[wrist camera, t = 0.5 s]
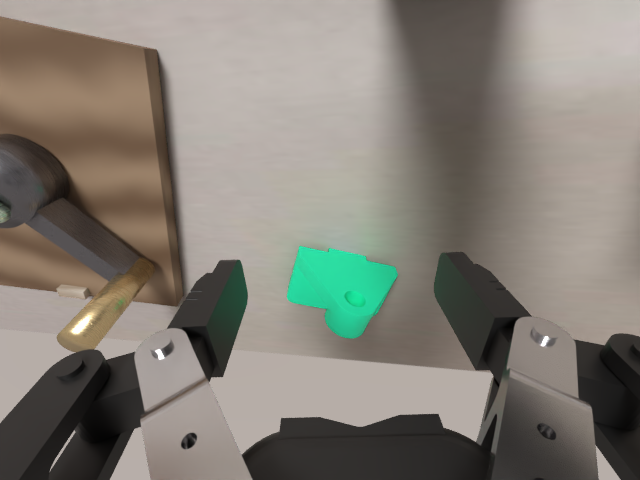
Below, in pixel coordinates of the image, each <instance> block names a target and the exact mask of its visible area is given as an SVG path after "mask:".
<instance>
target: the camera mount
mask: <svg viewBox="0 0 640 480" xmlns="http://www.w3.org/2000/svg"><path fill="white" fill-rule="evenodd" d="M397 276H398V273H397V271H396V268H395V267H394V266H389V265H384V264H380V263H375V262H371V261H367V260H366V256H362V255H358V254H353V253H349V252H344V251H340V250H335V249H331V248H329V250H328V252H325V251H320V250H316V249H311V248H307V247H302V246H299V250H298V254H297V257H296V261H295V264H294V268H293V272H292V275H291V279H290V283H289V286H288V293H287V299H288V300H289V301H290V302H292V303H297V304H302V305H307V306H313V307H318V308H323V309H327V310H326V313H325V321H326V324H327V325H328V327H329V328H330V329H331V330H332V331H333V332H334V333H335V334H337V335H339V336H341V337H344V338H357V337H359V336H361V335H362V334H363V332H364V330H365V328H366V327H367V325H368V323H369V321H370V319H371V318H372V316H374V315H376V314H377V313H378V311H379V309H380V307H381V305H382V304H383V302H384V300H385V298H386V296H387V294H388V292H389V291H390V289H391V287H392V285H393V283H394V281H395V279H396V278H397Z"/></svg>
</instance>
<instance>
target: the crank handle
mask: <svg viewBox="0 0 640 480" xmlns="http://www.w3.org/2000/svg"><path fill="white" fill-rule="evenodd" d="M68 194H69V181H68V178H67V175H66V173H65V171H64V169H63V168H62V166H61V165H60V164H59V162H58V161H57V160H56V159H55V158H54V157H53V156H52V155H51V154H50V153H49V152H48V151H47V150H45V149H44V148H43V147H41V146H40V145H38V144H37V143H35V142H33V141H31V140H29V139H27V138H24V137H22V136H18V135H14V134H0V228H14V227H17V226H20V225H22V224H23V223H25V224H27V225H28V226H30V227H31V228H33V229H34V230H35V231H37V232H38V233H40V234H41V235H43V236H44V237H46V238H47V239H48V240H50V241H51V242H53V243H54V244H56V245H57V246H59V247H60V248H61V249H63V250H64V251H66V252H67V253H69V254H70V255H71V256H73V257H74V258H76V259H77V260H79V261H80V262H82V263H83V264H84V265H86V266H87V267H89V268H90V269H92V270H93V271H95V272H96V273H97V274H99V275H100V276H102V277H103V278H105V279H106V280H107V281H109V282H108V283H107V284H106V285H105V286H104V287H103V288H102V289H101V291H100V292H99V293H98V294H97V295H96V296H95V297H94V298H93V299H92V300H91V301H90V302H89V303H88V304H87V305H86V306H85V307H84V308H83V309H82V310H81V311H80V312H79V313H78V314H77V315H76V316H75V317H74V318H73V319H72V320H71V322H70V323H69V324H68V325H67V326H66V327H65V328H64V329H63V330H62V331H61V332H60V333H59V334H58V335H57V340H58V342H59V343H60V344H61V345H62V346H63V347H64V348H66V349H68V350H70V351H73V352H79V351H83V350H89V349H95V348H96V346H97V345H98V343H99V342H100V341H101V340H102V339H103V337H104V336H105V335H106V334H107V332H108V331H109V330H110V329H111V327H112V326H113V325H114V323H115V322H116V321H117V320H118V318H119V317H120V316H121V315H122V313H123V312H124V311H125V310H126V308H127V307H128V306H129V304H130V303H131V302H132V301H133V299H134V298H135V297H136V296H137V294H138V293H139V292H140V291H141V289H142V288H143V287H144V286H145V284H146V283H147V282H148V280H149V279H150V278H151V277H152V275H153V274H154V272H155V268H154V266H153V264H152V263H151V262H150V261H148V260H146V259H144V258H140V257H139V256H137V255H136V254H135V253H134V252H132V251H131V250H130V249H128V248H127V247H126V246H125V245H123V244H122V243H121V242H120V241H118V240H117V239H116V238H114V237H113V236H112V235H111V234H109V233H108V232H107V231H105V230H104V229H103V228H102V227H100V226H99V225H98V224H96V223H95V222H94V221H93V220H91V219H90V218H89V217H87V216H86V215H85V214H84V213H82V212H81V211H80V210H78V209H77V208H76V207H75V206H73V205H72V204H71V203H69V202H68V201H67V200H66V198H67V196H68Z"/></svg>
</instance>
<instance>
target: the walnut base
mask: <svg viewBox="0 0 640 480" xmlns="http://www.w3.org/2000/svg"><path fill="white" fill-rule="evenodd" d="M0 134H14V135H18V136H22V137H24V138H27V139H29V140H31V141H33V142H35V143H37V144H38V145H40V146H41V147H43V148H44V149H45V150H47V151H48V152H49V153H50V154H51V155H52V156H53V157H54V158H55V159H56V160H57V161H58V162H59V164H60V165H61V166H62V168H63V169H64V171H65V173H66V175H67V178H68V181H69V194H68V196H67V198H66V200H67V201H68V202H69V203H71V204H72V205H73V206H75V207H76V208H77V209H78V210H80V211H81V212H82V213H84V214H85V215H86V216H87V217H89V218H90V219H91V220H93V221H94V222H95V223H96V224H98V225H99V226H100V227H102V228H103V229H104V230H105V231H107V232H108V233H109V234H111V235H112V236H113V237H114V238H116V239H117V240H118V241H120V242H121V243H122V244H123V245H125V246H126V247H127V248H128V249H130V250H131V251H132V252H134V253H135V254H136V255H137V256H139V257H140V258H144V259H146V260H148V261H150V262H151V263H152V264H153V266H154V268H155V272H154V274H153V275H152V277H151V278H150V279H149V280H148V282H147V283H146V284H145V286H144V287H143V288H142V289H141V291H140V292H139V293H138V294H137V296H136V297H135V298H134V299H133V301H136V302H144V303H152V304H160V305H169V306H178V304H179V302H180V300H181V299H182V297H183V288H182V279H181V269H180V260H179V251H178V242H177V232H176V223H175V214H174V205H173V195H172V186H171V177H170V168H169V158H168V149H167V140H166V131H165V121H164V112H163V103H162V94H161V84H160V75H159V66H158V57H157V50H156V49H151V48H147V47H142V46H137V45H132V44H128V43H123V42H118V41H113V40H109V39H104V38H99V37H95V36H90V35H85V34H80V33H76V32H71V31H66V30H61V29H57V28H52V27H47V26H43V25H38V24H33V23H28V22H24V21H19V20H14V19H9V18H5V17H0ZM108 282H109V281H107V280H106V279H105V278H103V277H102V276H100V275H99V274H97V273H96V272H95V271H93V270H92V269H90V268H89V267H87V266H86V265H84V264H83V263H82V262H80V261H79V260H77V259H76V258H74V257H73V256H71V255H70V254H69V253H67V252H66V251H64V250H63V249H61V248H60V247H59V246H57V245H56V244H54V243H53V242H51V241H50V240H48V239H47V238H46V237H44V236H43V235H41V234H40V233H38V232H37V231H35V230H34V229H33V228H31V227H30V226H28V225H27V224H25V223H23V224H22V225H20V226H17V227H14V228H0V285H6V286H14V287H22V288H30V289H38V290H46V291H55V292H58V294H59V296H62V297H71V298H79V299H86V298H87V297H88V296H96V295H97V294H98V293H99V292H100V291H101V289H102V288H103V287H104V286H105V285H106V284H107V283H108Z"/></svg>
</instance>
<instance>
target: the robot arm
mask: <svg viewBox="0 0 640 480" xmlns="http://www.w3.org/2000/svg"><path fill="white" fill-rule="evenodd" d="M434 293H435V297H436V299H437V301H438V303H439V305H440V307H441V309H442V310H443V312H444V314H445V316H446V318H447V319H448V321H449V323H450V325H451V327H452V328H453V330H454V332H455V334H456V336H457V337H458V339H459V341H460V343H461V344H462V346H463V348H464V350H465V352H466V353H467V355H468V357H469V359H470V361H471V362H472V364H473V366H474V368H475V370H490V371H491V372H492V374H493V378H492V381H491V385H490V389H489V393H488V398H487V402H486V406H485V410H484V415H483V419H482V424H481V428H480V431H479V435H478V438H477V441H476V442H475V441H473V440H471V439H470V438H468V437H466V436H464V435H462V434H460V433H457V432H454V431H452V430H449V429H446V428H443V426H442V423H441V420H440V417H439V415H438V414H418V415H398V416H395V417H392V418H389V419H386V420H383V421H380V422H377V423H374V424H371V425H367V426H364V427H356V426H352V425H348V424H344V423H340V422H337V421H333V420H329V419H324V418H321V417H310V418H281V425H280V432H277V433H274V434H271V435H269V436H267V437H265V438H263V439H262V440H261V441H259V442H257V443H255V444H254V445H253V446H251V447H250V448H249V449H248V450H246V452H244V453H243V454H242V455H241V453H240V451H239V448H238V446H237V444H236V442H235V439H234V437H233V435H232V433H231V431H230V429H229V426H228V424H227V422H226V420H225V417H224V415H223V413H222V410H221V408H220V406H219V404H218V401H217V399H216V397H215V395H214V392H213V390H212V388H211V386H210V384H209V382H210V379H211V377H223V375H224V372H225V369H226V366H227V363H228V360H229V357H230V354H231V351H232V348H233V345H234V342H235V339H236V336H237V333H238V330H239V327H240V324H241V321H242V318H243V315H244V312H245V309H246V305H247V299H248V293H247V287H246V282H245V277H244V273H243V268H242V264H241V261H240V260H221V261H219V262H218V264H217V266H216V268H215V269H214V271H213V273H206V274H205V275H204V276H203V277H201V278H200V279H199V280H198V281H197V282H196V283H195V285H194V286H193V288H192V289H191V293H189V294H188V296H187V297H186V301H184V302H183V304H182V305H181V307H180V309H179V310H178V312H177V313H176V315H175V316H174V318H173V320H172V321H171V323H170V324H169V326H168V328H167V329H165V330H161V331H159V332H157V333H155V334H153V335H151V336H149V337H148V338H147V339H145V340H144V341H143V342H142V343H141V344H140V346H139V347H138V348H137V350H136V352H133V353H130V354H126V355H122V356H118V357H115V358H111V359H108V360H106V359H105V358H104V356H103V355H102V353H101V352H100V351H98V350H94V349H89V350H83V351H79V352H76V353H74V354H71V355H69V356H67V357H65V358H63V359H62V360H60V361H59V362H57V363H56V364H55V365H53V366H52V367H51V368H50V369H49V370H48V371H47V372H46V373H45V374H44V375H43V376H42V377H41V378H40V379H39V381H38V382H37V383H36V384H35V385H34V386H33V387H32V388H31V389H30V391H29V392H28V393H27V394H26V395H25V396H24V397H23V398H22V400H21V401H20V402H19V403H18V404H17V405H16V406H15V407H14V409H13V410H12V411H11V412H10V413H9V414H8V415H7V416H6V417H5V419H4V420H3V421H2V422H1V423H0V480H110V478H111V476H112V474H113V472H114V469H115V467H116V465H117V463H118V461H119V459H120V457H121V455H122V453H123V451H124V449H125V447H126V445H127V443H128V441H129V439H130V437H131V434H132V432H133V430H134V429H135V428H138V427H141V428H142V434H143V439H144V444H145V450H146V456H147V462H148V467H149V473H150V478H151V480H599V479H598V468H597V459H596V458H597V457H596V447H595V444H596V446H597V447H598V449H599V450H600V451H601V452H602V454H603V456H604V457H605V458H606V460H607V461H608V462H609V464H610V465H611V467H612V468H613V469H614V471H615V472H616V473H617V475H618V476H619V478H620V479H621V480H640V337H639V336H635V335H630V334H614V335H612V336H611V337H610V338H609V340H608V341H607V343H606V344H605V346H604V345H599V344H594V343H589V342H584V341H579V340H574V339H573V338H572V336H571V335H570V334H569V333H568V332H567V331H565V330H564V329H563V328H561V327H560V326H558V325H556V324H555V323H552V322H550V321H548V320H545V319H542V318H538V317H532V316H531V315H530V314H529V313H528V312H527V310H526V309H525V308H524V307H523V306H522V305H521V304H520V303H519V302H518V301H517V300H516V299H515V298H514V297H513V295H512V294H511V293H510V292H509V291H508V290H506V288H505V287H504V286H503V285H502V284H501V283H499V280H498V279H497V278H496V277H495V276H494V275H493V274H492V273H491V272H490V271H488V270H487V269H485V268H483V267H482V266H480V265H478V264H473V262H472V261H471V260H470V259H469V258H468V257H467V256H466V254H465V253H463V252H449V253H442V254H441V255H440V258H439V262H438V267H437V272H436V277H435V282H434ZM74 430H75V432H76V433H75V434H74V436H73V437H72V439H71V440H70V442H69V443H68V445H67V446H66V448H65V450H64V451H63V453H62V454H61V456H60V457H59V459H58V460H57V462H56V463H55V465H54V466H53V468H52V469H51V471H50V468H51V466H52V464H53V462H54V460H55V458H56V457H57V455H58V454H59V452H60V450H61V449H62V448H63V446H64V444H65V443H66V441H67V440H68V438H69V437H70V435H71V434H72V432H73V431H74Z"/></svg>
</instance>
